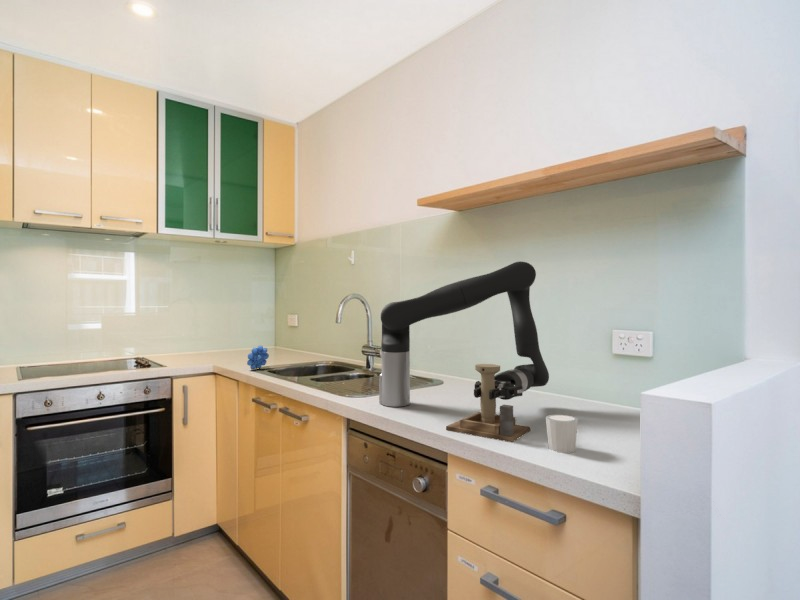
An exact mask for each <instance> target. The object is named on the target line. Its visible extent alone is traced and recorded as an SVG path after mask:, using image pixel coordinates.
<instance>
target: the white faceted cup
mask: <svg viewBox="0 0 800 600" xmlns="http://www.w3.org/2000/svg"><path fill="white" fill-rule="evenodd" d="M545 422H546V431H547V433H546V434H547V442H548V448H549V450H550V451H552V450H553V452H556V451H558V452H557V453H561V452H563V454H564V453H565V454H568V453H570V454H571V453H573V452H575V451H576V447H577V436H578V435H577V434H578V425H579V424H578V423H579V419H578V418H577V417H575V416H571V415H569V414H568V415H566V414H549V415H546V416H545Z"/></svg>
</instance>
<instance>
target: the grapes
mask: <svg viewBox="0 0 800 600" xmlns="http://www.w3.org/2000/svg"><path fill="white" fill-rule="evenodd" d="M269 357H270V355H269V353H268V348H267V347H263V345H258V346H257V347H253V348H252V349H251V352H249V353H248V355H247V359H248V360H247V361H246V365H247V366H250V367H249V368H250V369H251V370H252V369H254V370H255V369H256V368H261V369H262V367H263V366H265V365H266V364H267V359H268V358H269Z"/></svg>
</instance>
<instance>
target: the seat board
mask: <svg viewBox="0 0 800 600" xmlns="http://www.w3.org/2000/svg"><path fill="white" fill-rule="evenodd" d="M494 418H495V423H494V424H488V423H482V415H481V411H478V412H475V413H473V414H471V415H469V416H467V417H463V418H462V419H459V420H457V421H455V422H453V423H451V424H447V425H446V426H445V430H446V431H449V432H456V433H459V432H461V433H460V434H465V433H466V435H470V434H472V435H471V436H476V435H477V436H476V437H481V436H482V437H481V438H486V437H487V439H492V438H494V439H493V440H497V439H499V440H498V441H503V440H505V442H508V441H511V442H510V443H513V442H515V441H517V440H518V439H519V437H520V438H521V437H522V435H523V436H524V435H526V434H528V433H529V432H531V426H529V425H528V426H527V425H522V424H516V417H515V416H514V405H510V404H502V405H499V414H495V417H494ZM517 438H518V439H517ZM514 440H515V441H514Z"/></svg>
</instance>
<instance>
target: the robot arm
mask: <svg viewBox="0 0 800 600" xmlns="http://www.w3.org/2000/svg"><path fill="white" fill-rule="evenodd" d="M536 277H537V272H536V269H535V267H534V266H533V265H532V264H530V263H529V262H527V261H526V262H525V261H515V262H513V263H510V264H508V265H506V266H504V267H501V268H499V269H496V270H493V271H492V272H489V273H486V274H482V275H478V276H473V277H470V278H466V279H463V280H458V281H456V282H452V283H449V284H446V285H443V286H441V287H439V288H436V289H434V290H432V291H429V292H427V293H426V294H425V293H424V294H423V295H421V296H417V297H415V298H410V299H406V300H400V301H394V302H390V303H388V304H386V305H384V306H383V308H382V310H381V313H380V321H381V348H380V351H381V373H380V374H379V375H378V385H379V386H378V396H379V397H378V400H379V401H378V402H379V404H381V405H383V406H385V407H394V408H395V407H398V408H399V407H406V406H409V405H410V403H411V377H410V375H411V373H410V372H411V368H410V367H411V366H410V363H411V361H410V360H411V359H410V349H411V347H410V346H411V345H410V343H411V341H410V339H411V338H410V335H411V334H410V332H411V331H410V327H411V325H414V324H416V323H417V322H420V321H424V320H426V319H431V318H435V317H441V316H446V315H450V314H453V313H454V314H455V313H457V312H460V311H463V310H466V309H469V308H472V307H474V306H477V305H478V304H481V303H483V302H484V301H486V300H488V299H490V298H492V297H495V296H497V295H500V294H503V293H506V294H507V296H508V301H509V305H510V310H511V314H512V324H513V332H514V342H515V349H516V350H515V351H516V353H517V356H518V357H520V358H529V359H530V360H531V361H532V363H528V364H527V363H526V364H520V365H516V366H515V367H514V368H513V369H508V370H504V371H502V372H501V371H500V372H497V373H496V374H495V377H494V380H495V389H493V390H490V391H489V399H491V400H493V399H495V398H496V399H497V398H498V399H501V400H505V401H507V400H511V399H513V398H517V397H522V396H523V393H524V392H526V391H528V390H529V389H530V388H535V387H536V388H537V387H544V386H546V385H548V383H549V380H550V374H549V370H548V368H547V365H546V363H545V360H544V359H543V356H542V355H543V354H542V353H541V350H540V349H541V348H540V344H539V335H538V329H537V326H536V321H535V319H534V316H533V311H532V308H531V301H530V294H531V293H530V291H531V289H530V288H531V286H532V285H533V284H534V283H535V280H536ZM473 396H474V398H477V399H478V398H480V397H481V380H476V381H475V383H474V389H473Z"/></svg>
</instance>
